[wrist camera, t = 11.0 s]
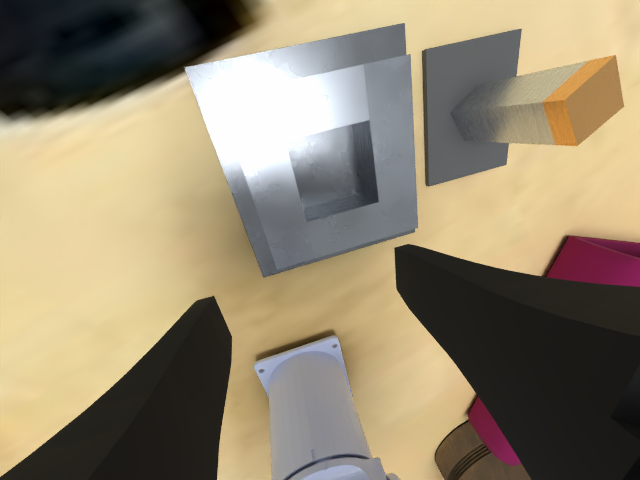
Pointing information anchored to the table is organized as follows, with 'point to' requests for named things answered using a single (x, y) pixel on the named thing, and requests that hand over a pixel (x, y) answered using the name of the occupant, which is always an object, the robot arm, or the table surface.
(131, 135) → the table surface
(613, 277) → the book
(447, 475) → the wooden container
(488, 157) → the mat
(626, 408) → the robot arm
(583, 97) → the orange and grey block
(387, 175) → the block
